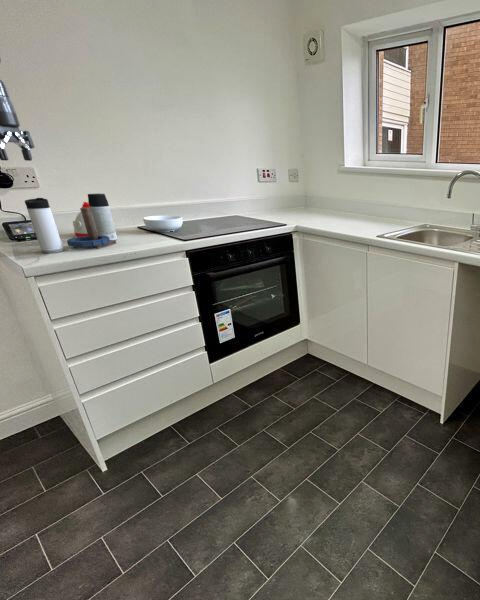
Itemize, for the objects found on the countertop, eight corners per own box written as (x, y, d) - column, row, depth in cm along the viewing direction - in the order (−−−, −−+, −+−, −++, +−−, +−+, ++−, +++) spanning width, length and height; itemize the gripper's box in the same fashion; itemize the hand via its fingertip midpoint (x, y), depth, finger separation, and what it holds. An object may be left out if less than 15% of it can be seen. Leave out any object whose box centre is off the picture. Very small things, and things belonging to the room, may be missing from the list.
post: (98, 248, 143) (87, 209, 138) (73, 247, 143) (61, 209, 137) (116, 243, 153) (106, 206, 147) (93, 242, 152) (82, 206, 147)
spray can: (117, 237, 162) (105, 193, 155) (117, 240, 158) (105, 194, 150) (99, 239, 159) (86, 193, 151) (98, 242, 154) (85, 194, 146)
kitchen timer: (85, 238, 159) (75, 204, 154) (69, 234, 165) (59, 202, 159) (119, 233, 171) (110, 202, 166) (103, 230, 177) (94, 199, 171)
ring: (94, 247, 139) (92, 242, 138) (60, 246, 138) (58, 241, 138) (117, 240, 151) (116, 235, 150) (85, 239, 150) (84, 235, 150)
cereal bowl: (178, 234, 175) (176, 219, 173) (140, 234, 171) (137, 220, 168) (188, 228, 190) (186, 214, 188) (153, 228, 186) (150, 215, 183)
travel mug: (67, 249, 141) (51, 197, 133) (59, 252, 135) (41, 199, 128) (47, 249, 139) (29, 197, 131) (38, 253, 133) (19, 199, 126)
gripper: (10, 113, 129) (25, 160, 135) (-35, 107, 116) (-15, 159, 121) (31, 114, 129) (45, 161, 135) (-12, 108, 116) (7, 160, 122)
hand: (16, 160), depth 128 cm, fingers open, 8 cm apart
